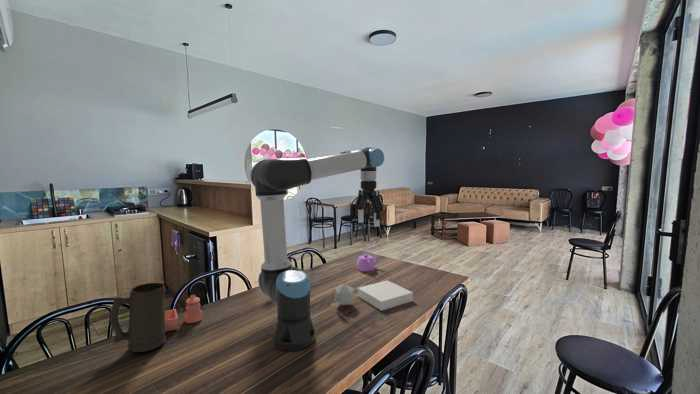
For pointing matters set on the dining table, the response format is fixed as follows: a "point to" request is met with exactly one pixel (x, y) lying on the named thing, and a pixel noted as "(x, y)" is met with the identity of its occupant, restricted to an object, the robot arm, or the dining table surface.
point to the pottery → (190, 316)
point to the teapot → (366, 263)
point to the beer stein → (142, 317)
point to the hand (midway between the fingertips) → (368, 224)
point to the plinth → (385, 295)
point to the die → (344, 294)
